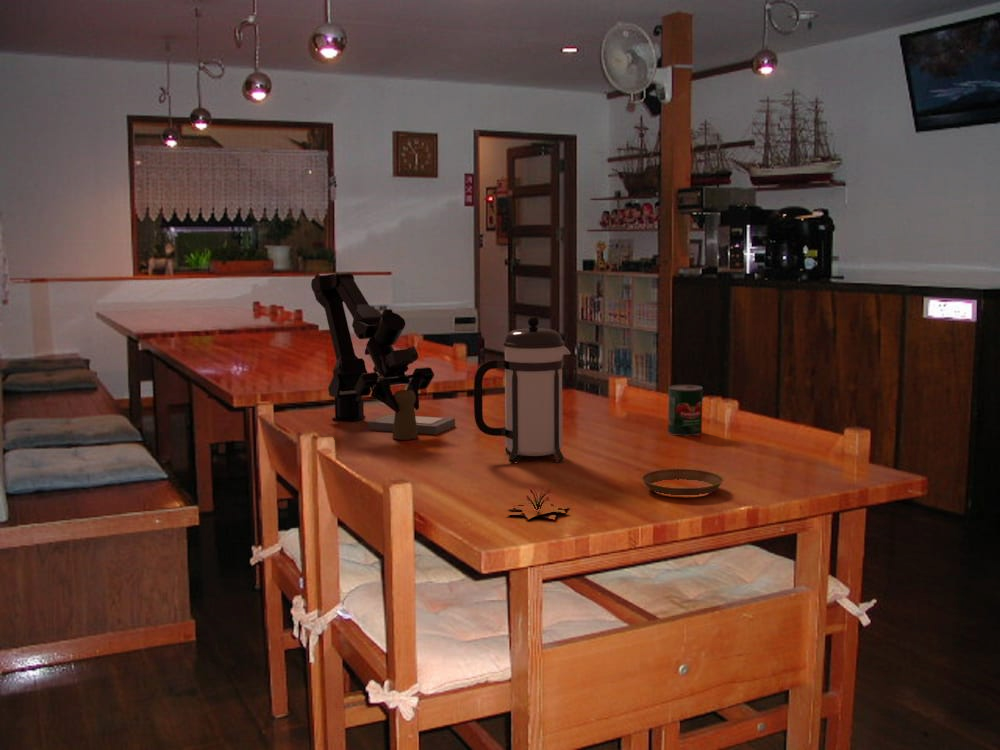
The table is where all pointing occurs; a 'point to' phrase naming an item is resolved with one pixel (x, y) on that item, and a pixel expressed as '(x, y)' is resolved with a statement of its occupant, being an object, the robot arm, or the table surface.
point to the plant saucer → (683, 474)
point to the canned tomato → (685, 410)
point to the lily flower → (539, 501)
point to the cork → (405, 416)
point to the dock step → (423, 424)
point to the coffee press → (528, 392)
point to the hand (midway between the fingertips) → (407, 410)
